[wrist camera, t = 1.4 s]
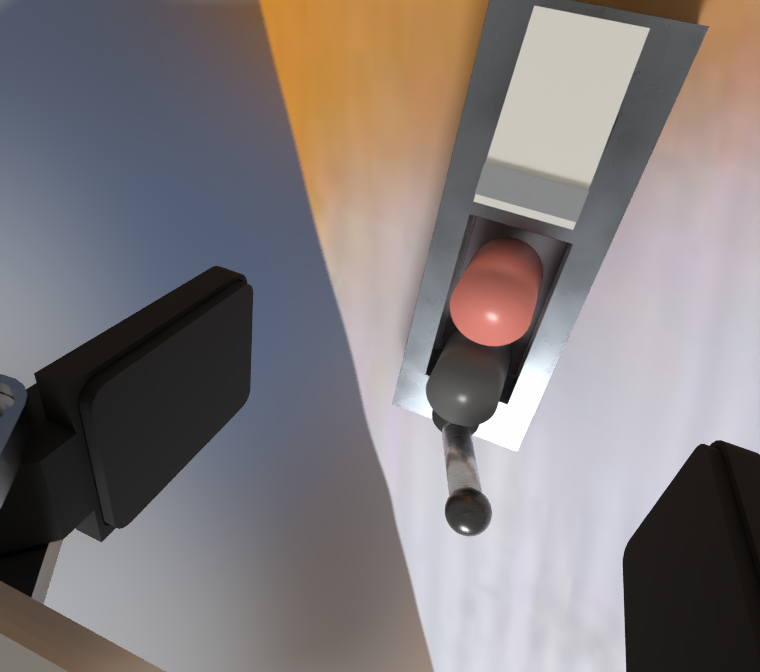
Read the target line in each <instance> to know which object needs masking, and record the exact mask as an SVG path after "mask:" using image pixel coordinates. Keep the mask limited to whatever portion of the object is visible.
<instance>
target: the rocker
mask: <svg viewBox="0 0 760 672" xmlns="http://www.w3.org/2000/svg"><path fill="white" fill-rule="evenodd" d="M649 30H650V28H646V27H641V26H636V25H631V24H626V23H621V22H615V21H610V20H605V19H600V18H595V17H590V16H585V15H580V14H575V13H570V12H565V11H560V10H555V9H550V8H545V7H539V6H534V8H533V11H532V14H531V18H530V21H529V24H528V27H527V31H526V34H525V37H524V40H523V43H522V47H521V50H520V53H519V56H518V59H517V63H516V66H515V69H514V72H513V76H512V79H511V82H510V85H509V88H508V92H507V95H506V98H505V101H504V104H503V108H502V111H501V114H500V117H499V121H498V124H497V127H496V130H495V133H494V137H493V140H492V143H491V146H490V149H489V153H488V156H487V159H486V162H485V163H484V166H483V169H482V172H481V175H480V179H479V182H478V185H477V188H476V191H475V198H474V201H473V202H477V203H480V204H484V205H487V206H491V207H494V208H498V209H501V210H505V211H508V212H512V213H515V214H519V215H522V216H526V217H529V218H533V219H537V220H540V221H544V222H547V223H551V224H554V225H558V226H561V227H565V228H568V229H572V230H573V229H574V227H575V224H576V222H577V221H578V218H579V216H580V213H581V210H582V208H583V205H584V203H585V200H586V197H587V195H588V192H589V191H588V190H589V187H590V185H591V182H592V179H593V177H594V174H595V172H596V169H597V166H598V164H599V161H600V158H601V156H602V153H603V151H604V148H605V145H606V143H607V140H608V137H609V135H610V132H611V130H612V127H613V124H614V122H615V119H616V117H617V114H618V111H619V109H620V106H621V103H622V101H623V98H624V96H625V93H626V90H627V88H628V85H629V82H630V80H631V77H632V75H633V72H634V69H635V67H636V64H637V61H638V59H639V56H640V54H641V51H642V48H643V46H644V43H645V40H646V38H647V35H648V33H649Z"/></svg>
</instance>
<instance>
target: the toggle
mask: <svg viewBox="0 0 760 672" xmlns="http://www.w3.org/2000/svg"><path fill="white" fill-rule="evenodd" d="M442 438H443V447H444V455H445V464H446V472H447V480H448V489H449V498H448V500H447V502H446V505H445V516H446V519H447V522H448V524H449V525H450V527H451V528H452V529H453V530H454V531H455V532H457V533H459V534H461V535H464V536H475V535H478V534H480V533H482V532H483V531H484V530H485V529H486V528H487V527H488V525H489V524H490V521H491V517H492V510H491V505H490V503H489V501H488V499H487V498H486V496H485V495H484V494H483V493H482V490H481V485H480V480H479V474H478V469H477V463H476V458H475V452H474V447H473V442H472V436H471V431H470V428H469V426H461V425H456V424H453V423H451V422H449V421H448V422H447V423H446V424H445V425H444V427H443V429H442Z"/></svg>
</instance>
